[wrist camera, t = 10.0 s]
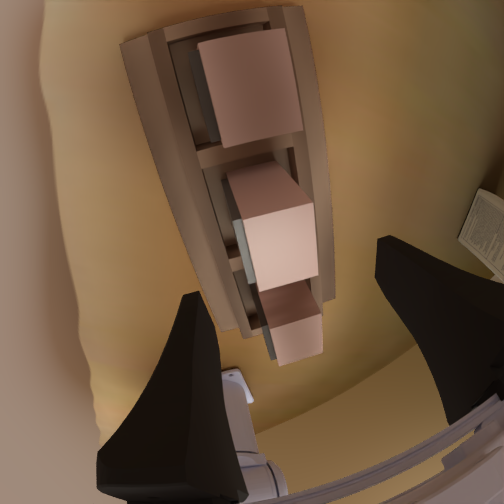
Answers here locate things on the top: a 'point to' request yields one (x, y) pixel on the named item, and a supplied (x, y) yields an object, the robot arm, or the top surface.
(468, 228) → the skincare box
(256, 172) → the rose block
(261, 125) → the walnut rack
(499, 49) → the top surface
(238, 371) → the robot arm
